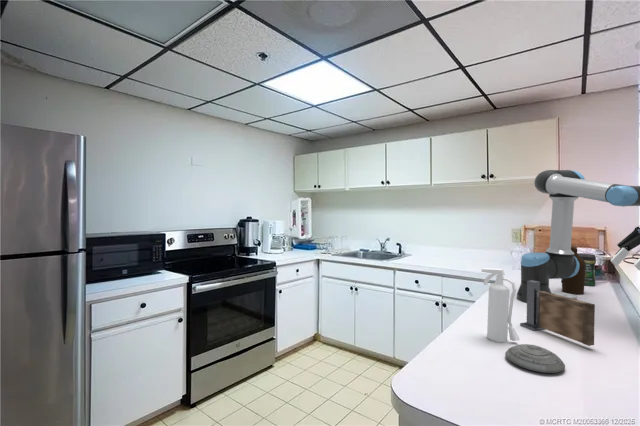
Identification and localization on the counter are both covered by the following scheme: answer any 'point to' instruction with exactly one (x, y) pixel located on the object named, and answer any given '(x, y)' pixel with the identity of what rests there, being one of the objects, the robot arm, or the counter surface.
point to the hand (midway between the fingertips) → (625, 265)
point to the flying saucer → (535, 358)
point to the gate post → (532, 306)
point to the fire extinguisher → (499, 307)
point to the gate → (566, 317)
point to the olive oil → (575, 277)
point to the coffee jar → (589, 268)
